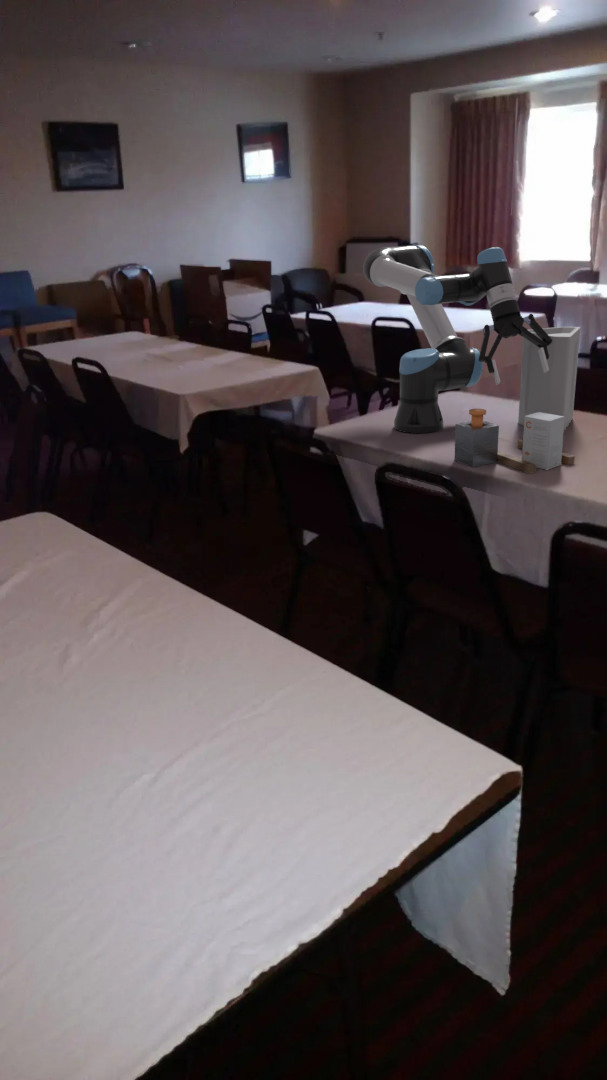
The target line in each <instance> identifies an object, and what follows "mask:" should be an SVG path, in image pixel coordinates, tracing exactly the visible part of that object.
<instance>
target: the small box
mask: <svg viewBox="0 0 607 1080" xmlns="http://www.w3.org/2000/svg"><path fill="white" fill-rule="evenodd" d="M563 431H564V416H559V415H553V414H547V413H542V412H537V413H533V414H530V415H526V416H524V425H523V435H522V436H523V438H522V439H523V449H522V451H521V452H522V453H521V459H522V460H524V461H527V462H530V463H533V464H535V465H536V467H535V468H537V469H541V470H545V471H548V470H551V469H554V468H556V467H559V466H561V465H562V462H561V459H562V452H563V444H564V432H565V431H564V432H563Z"/></svg>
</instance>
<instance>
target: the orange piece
mask: <svg viewBox="0 0 607 1080" xmlns="http://www.w3.org/2000/svg"><path fill="white" fill-rule="evenodd" d="M468 415H470V416H471V420H470V421H471V426H473V427H481V426H483V421H484V416H486V415H487V409H484V408H470V409H468Z"/></svg>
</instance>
